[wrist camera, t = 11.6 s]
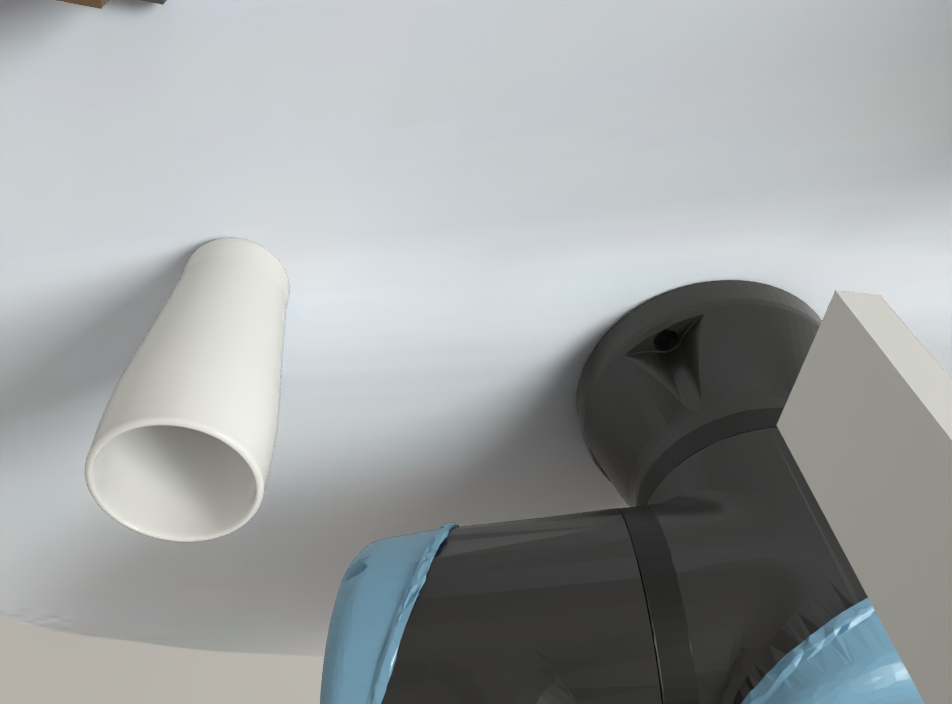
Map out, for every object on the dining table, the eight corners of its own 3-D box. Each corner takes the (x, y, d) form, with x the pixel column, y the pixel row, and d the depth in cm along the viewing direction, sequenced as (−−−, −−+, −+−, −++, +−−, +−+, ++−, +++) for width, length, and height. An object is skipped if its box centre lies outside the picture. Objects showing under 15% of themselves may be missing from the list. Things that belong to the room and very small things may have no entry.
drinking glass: (259, 351, 48) (207, 567, 36) (147, 285, 45) (49, 497, 33) (331, 269, 45) (300, 474, 33) (215, 193, 42) (135, 388, 30)
